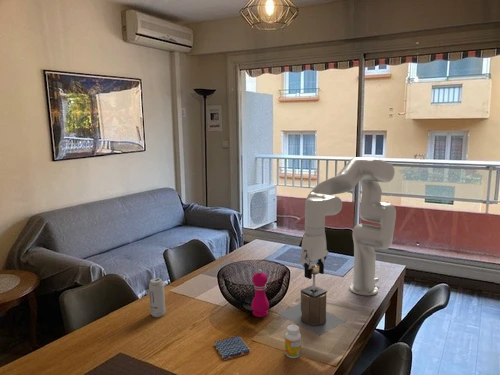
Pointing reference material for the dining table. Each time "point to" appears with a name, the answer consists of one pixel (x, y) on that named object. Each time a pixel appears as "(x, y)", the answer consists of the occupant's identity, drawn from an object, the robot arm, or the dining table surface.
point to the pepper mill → (260, 295)
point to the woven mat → (232, 347)
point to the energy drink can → (157, 297)
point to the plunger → (314, 271)
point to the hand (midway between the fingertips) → (314, 275)
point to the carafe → (313, 306)
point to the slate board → (295, 316)
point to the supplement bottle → (293, 341)
